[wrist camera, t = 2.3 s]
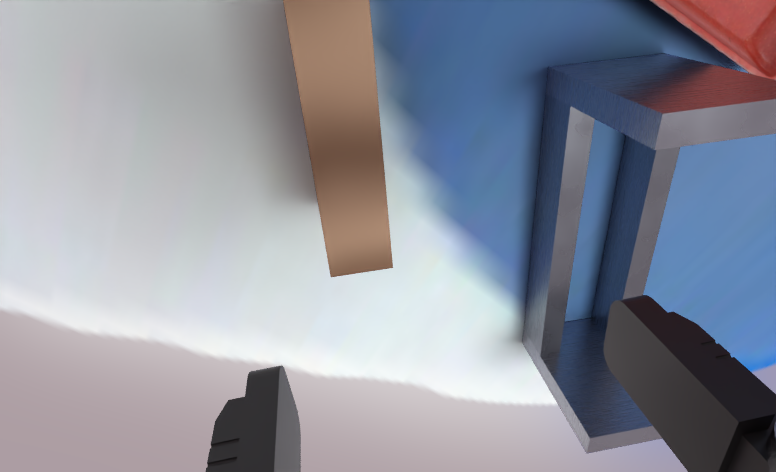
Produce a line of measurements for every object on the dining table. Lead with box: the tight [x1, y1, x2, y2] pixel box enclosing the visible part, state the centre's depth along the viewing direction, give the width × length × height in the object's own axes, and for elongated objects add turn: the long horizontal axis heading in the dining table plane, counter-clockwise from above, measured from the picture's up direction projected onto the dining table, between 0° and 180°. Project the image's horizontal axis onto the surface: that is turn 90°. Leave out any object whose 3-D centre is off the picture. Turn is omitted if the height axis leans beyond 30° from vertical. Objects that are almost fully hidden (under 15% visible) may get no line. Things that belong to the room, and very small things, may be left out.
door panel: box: [283, 0, 393, 277], centre depth 23 cm, size 12×3×8 cm, turn 4°
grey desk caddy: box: [523, 53, 776, 453], centre depth 28 cm, size 22×7×10 cm, turn 4°
